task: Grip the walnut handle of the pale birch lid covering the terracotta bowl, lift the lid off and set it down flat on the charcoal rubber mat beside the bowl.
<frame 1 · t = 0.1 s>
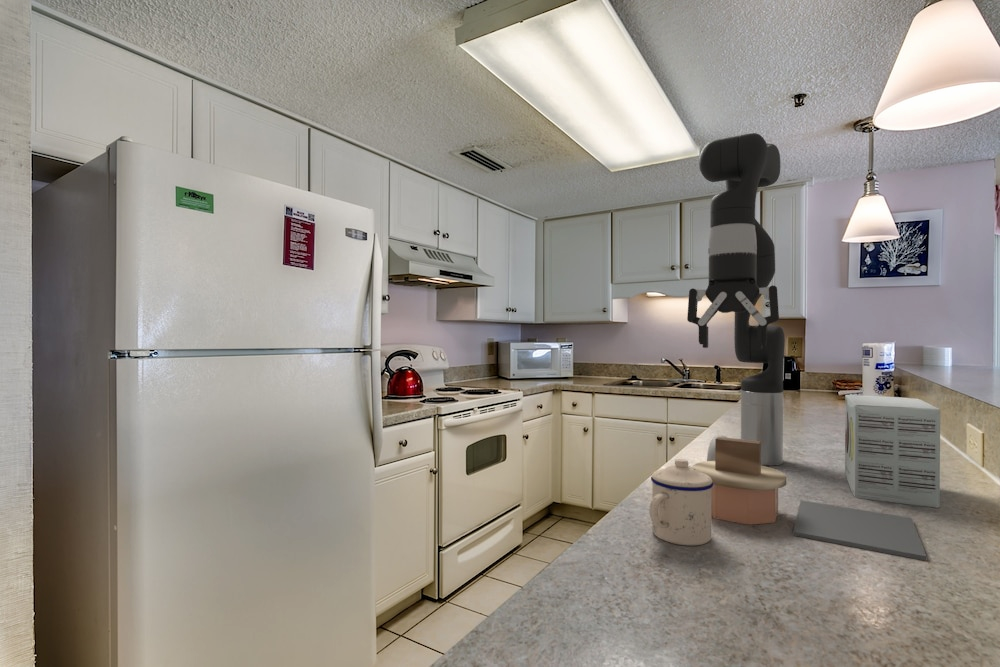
hand: (731, 348, 89), 29 cm above the countertop, tool pointing down, fingers open, 8 cm apart
mat: (854, 528, 83), on the countertop
lid: (737, 477, 91), point 6 cm above the countertop, touching bowl
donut: (719, 483, 108), on the countertop
teacup with lid: (675, 538, 79), on the countertop
bowl: (737, 511, 91), on the countertop
supplement box: (887, 491, 103), on the countertop
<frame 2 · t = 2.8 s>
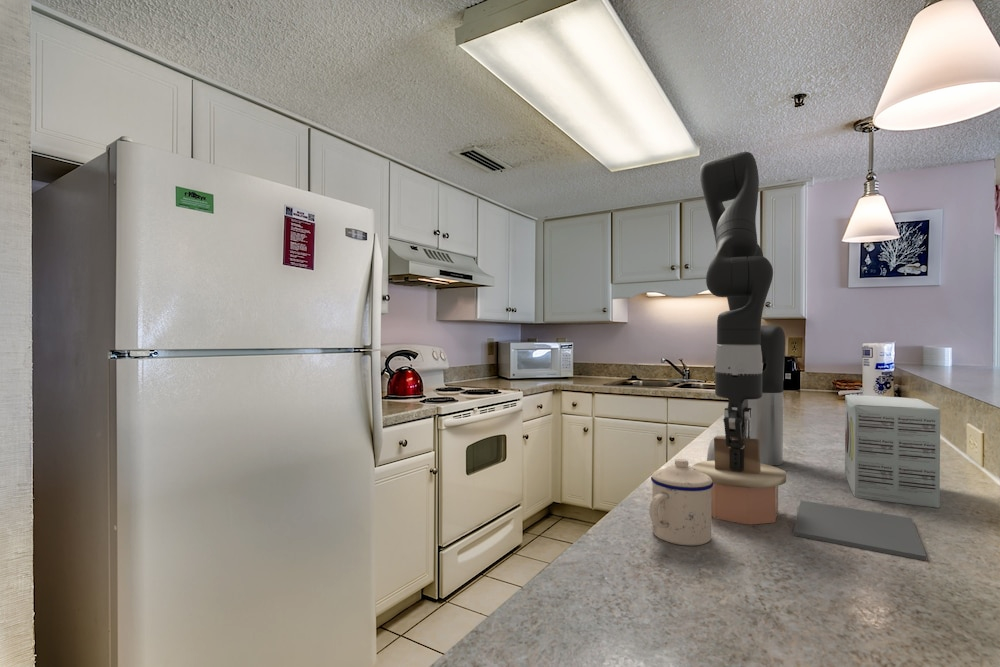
hand: (738, 468, 91), 8 cm above the countertop, tool pointing down, fingers closed on lid
lid: (737, 475, 91), point 6 cm above the countertop, touching bowl, gripper
everything else where it was.
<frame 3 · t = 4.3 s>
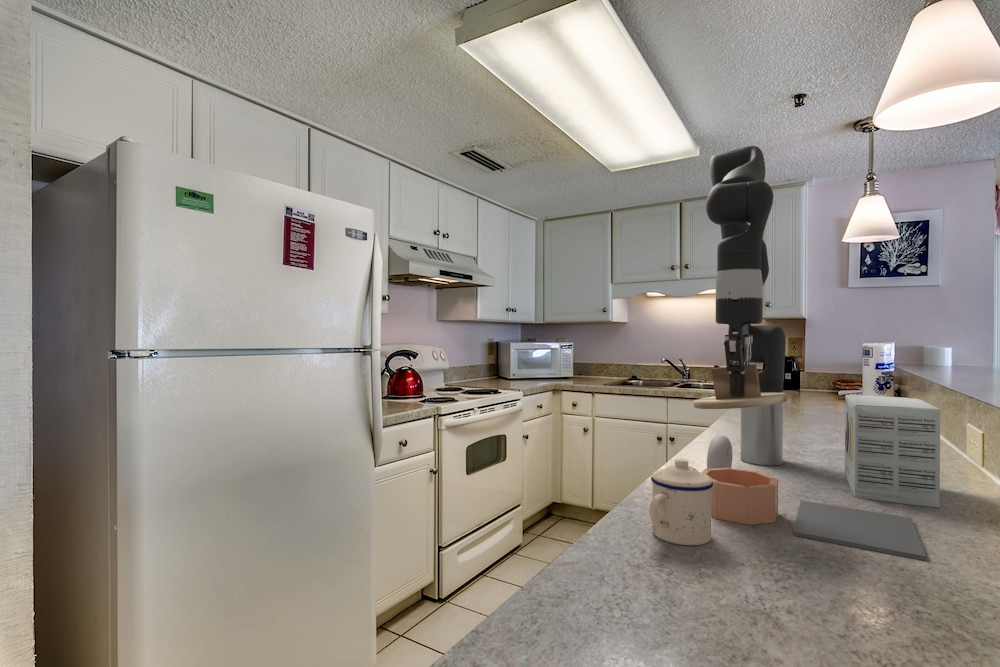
hand: (738, 395, 91), 20 cm above the countertop, tool pointing down, fingers closed on lid
lid: (739, 403, 91), point 19 cm above the countertop, tilted 8°, touching gripper
everything else where it was.
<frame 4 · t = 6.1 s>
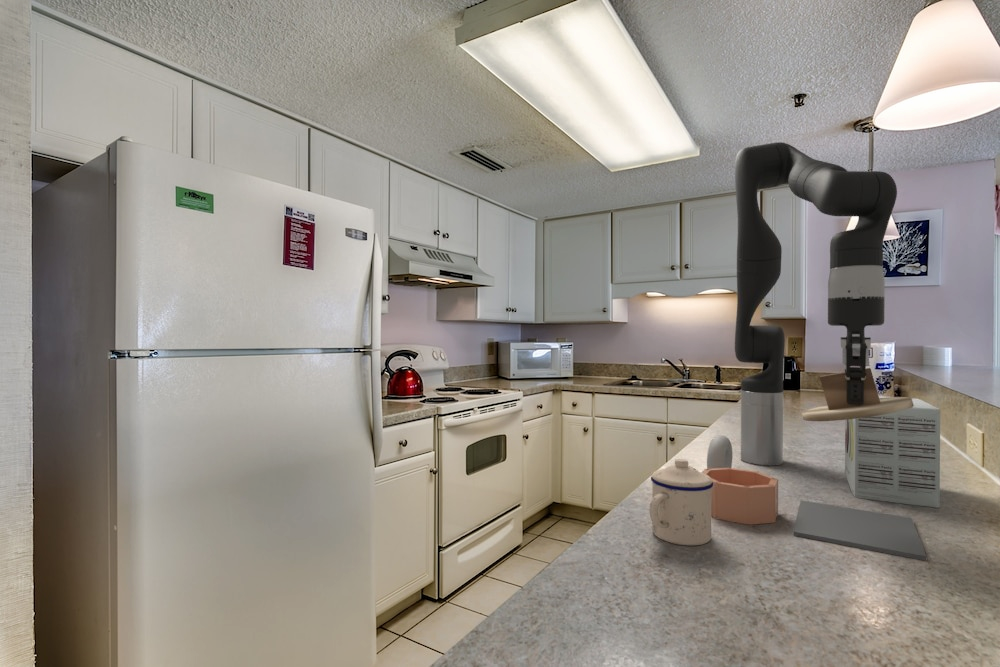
hand: (854, 403, 83), 20 cm above the countertop, tool pointing down, fingers closed on lid
lid: (855, 412, 83), point 19 cm above the countertop, tilted 14°, touching gripper
everything else where it was.
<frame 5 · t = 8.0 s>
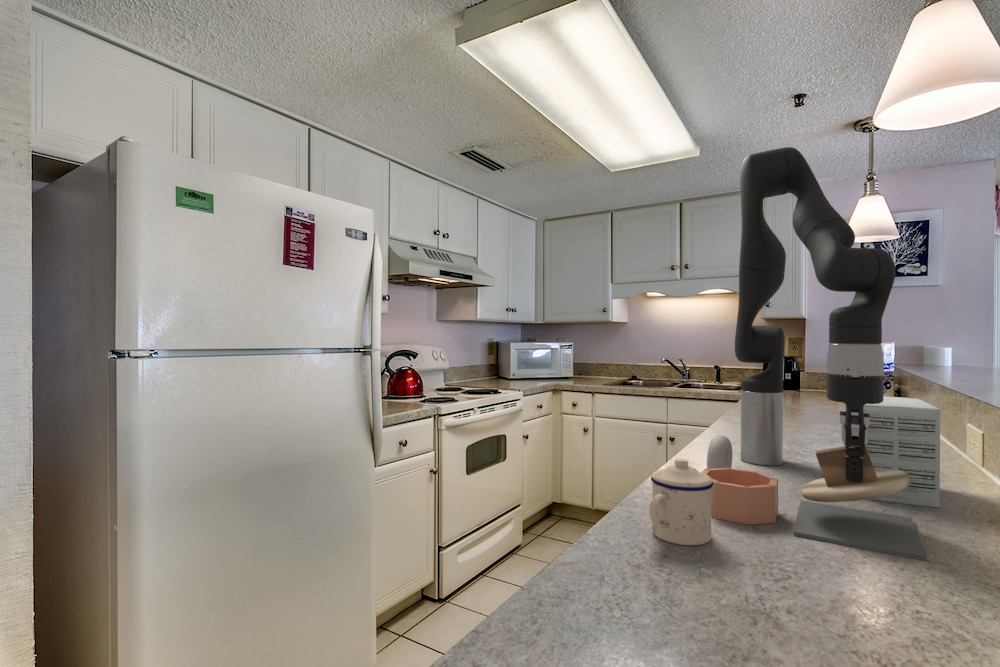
hand: (854, 479, 83), 8 cm above the countertop, tool pointing down, fingers closed on lid
lid: (854, 488, 83), point 6 cm above the countertop, tilted 18°, touching gripper
everything else where it was.
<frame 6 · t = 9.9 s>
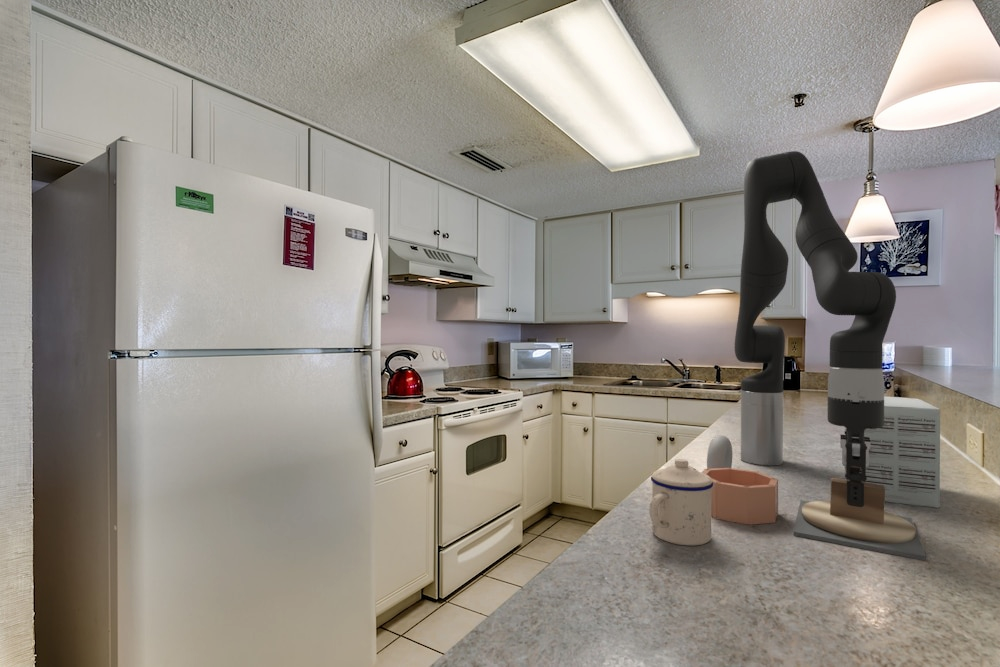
hand: (854, 499, 83), 5 cm above the countertop, tool pointing down, fingers open, 6 cm apart
lid: (855, 523, 83), point 1 cm above the countertop, touching mat
everything else where it was.
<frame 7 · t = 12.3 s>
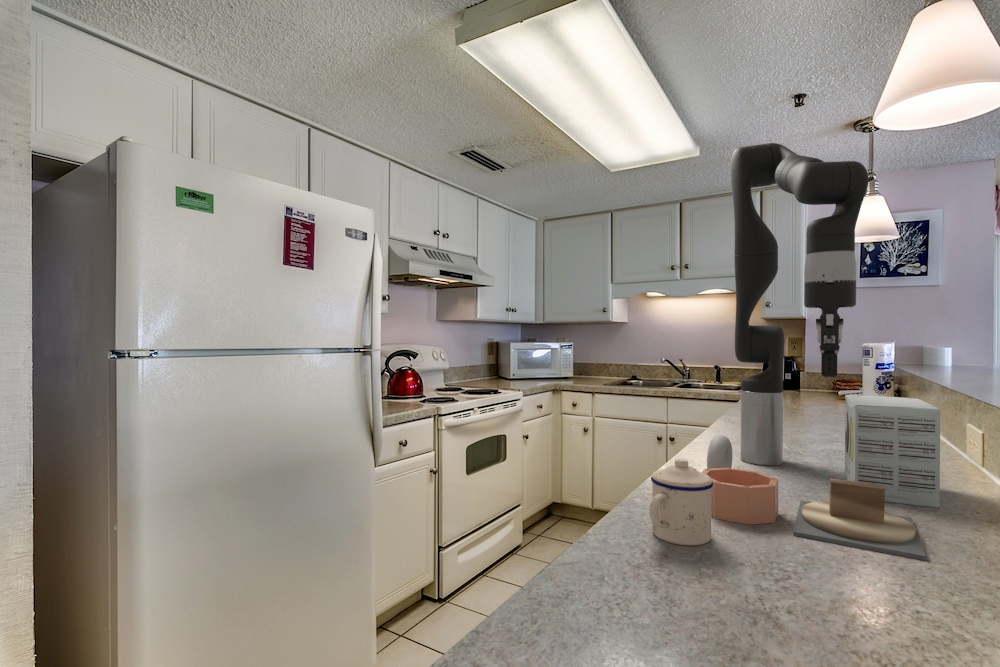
hand: (828, 374, 89), 24 cm above the countertop, tool pointing down, fingers open, 8 cm apart
nothing on the countertop moved.
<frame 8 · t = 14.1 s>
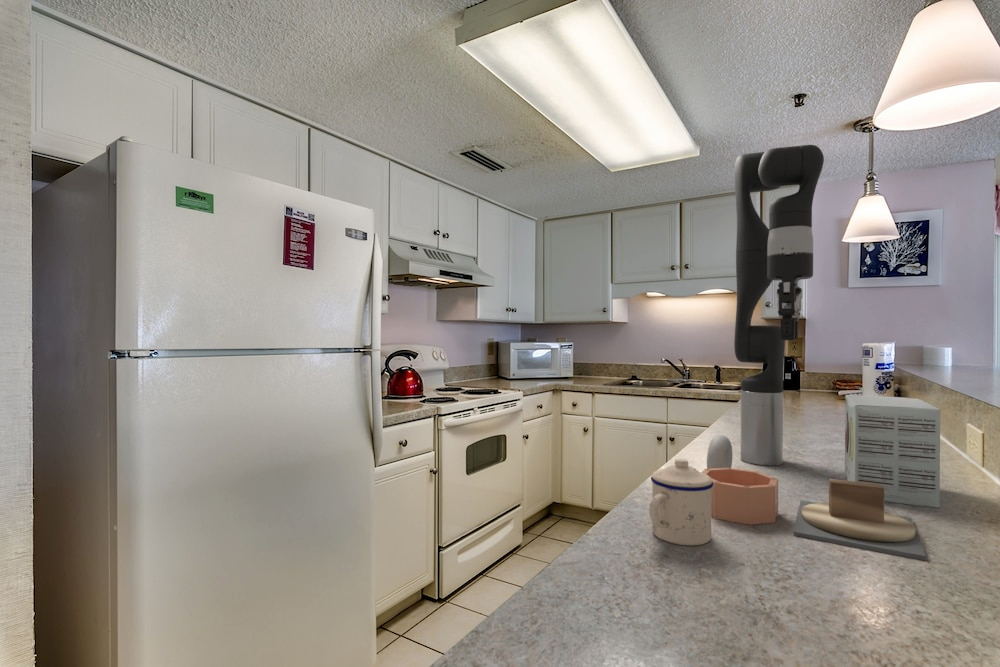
hand: (789, 339, 97), 30 cm above the countertop, tool pointing down, fingers open, 8 cm apart
nothing on the countertop moved.
at the end: lid inside the target area on the mat (0.1 cm from its centre), point 0.7 cm above the mat's base; lid tilted 1°; the gripper is holding nothing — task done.
